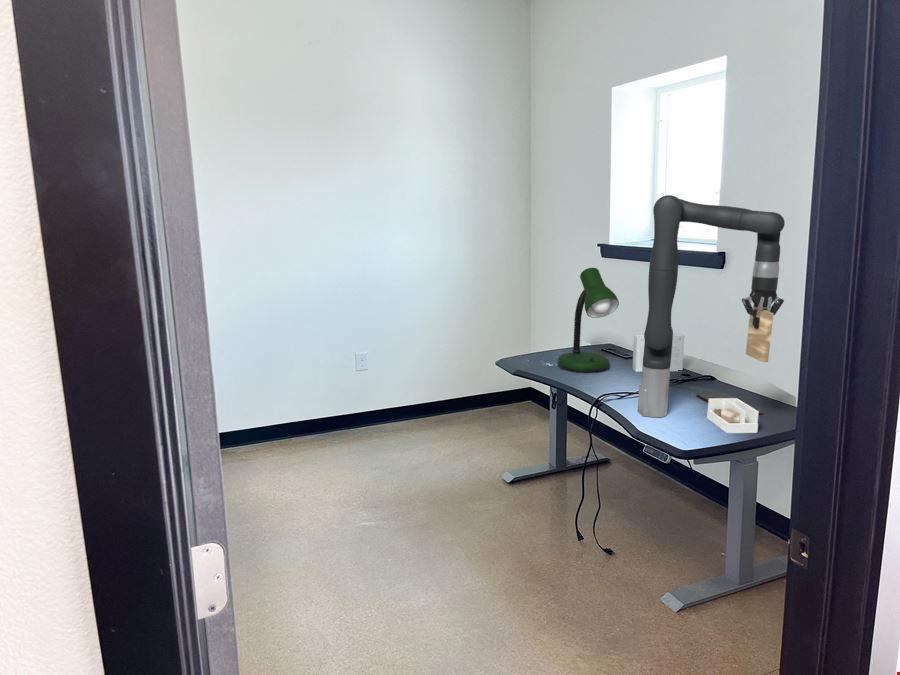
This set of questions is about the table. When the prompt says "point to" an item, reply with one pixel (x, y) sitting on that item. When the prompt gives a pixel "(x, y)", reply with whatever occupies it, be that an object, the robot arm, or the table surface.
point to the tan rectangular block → (760, 337)
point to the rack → (747, 413)
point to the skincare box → (675, 356)
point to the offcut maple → (730, 415)
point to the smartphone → (708, 396)
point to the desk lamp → (596, 305)
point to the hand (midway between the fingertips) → (759, 327)
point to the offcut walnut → (718, 412)
